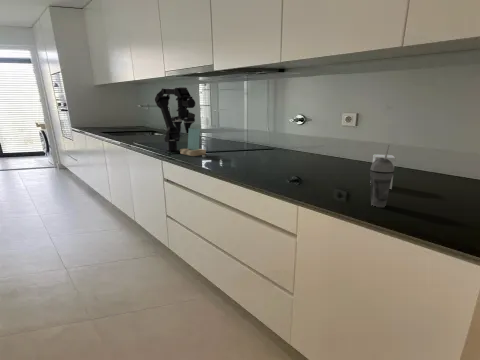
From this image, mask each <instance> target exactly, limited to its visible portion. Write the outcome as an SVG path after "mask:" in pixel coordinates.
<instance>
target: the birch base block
mask: <svg viewBox="0 0 480 360" xmlns="http://www.w3.org/2000/svg"><path fill="white" fill-rule="evenodd" d="M179 152H180V154H181V155H185V156H191V157H196V156H204V155H205V156H206V155H207V153H206V152H207V150H206V149H203V148H199V149H197V150H191V149H188V147H187V148H186V147H185V148H180V149H179Z"/></svg>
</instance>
